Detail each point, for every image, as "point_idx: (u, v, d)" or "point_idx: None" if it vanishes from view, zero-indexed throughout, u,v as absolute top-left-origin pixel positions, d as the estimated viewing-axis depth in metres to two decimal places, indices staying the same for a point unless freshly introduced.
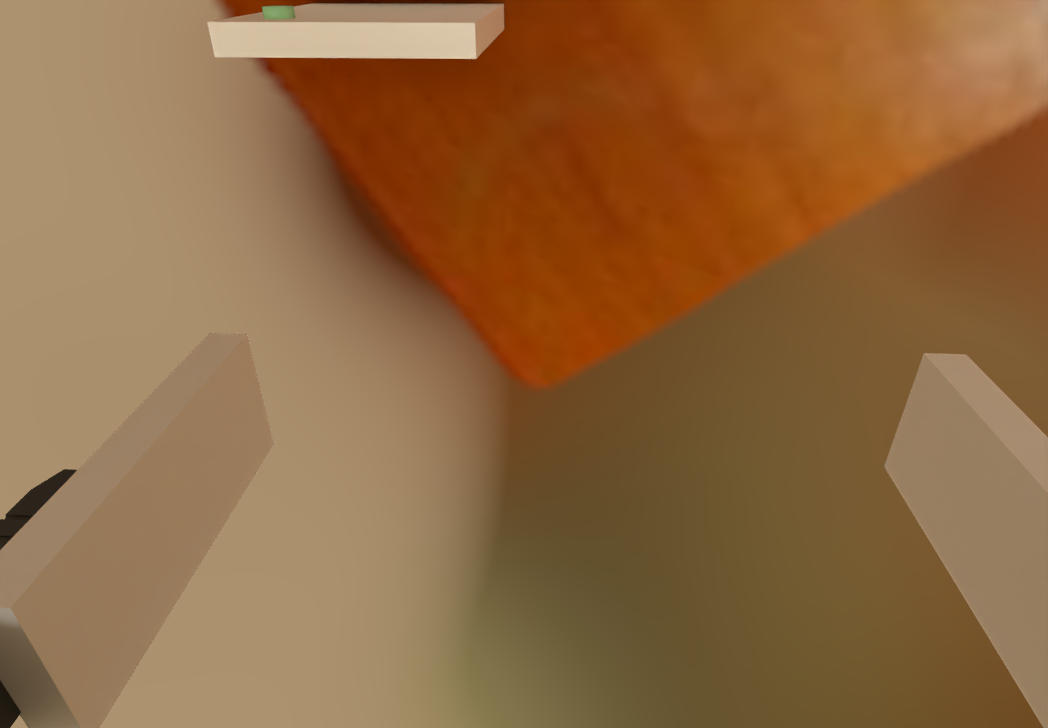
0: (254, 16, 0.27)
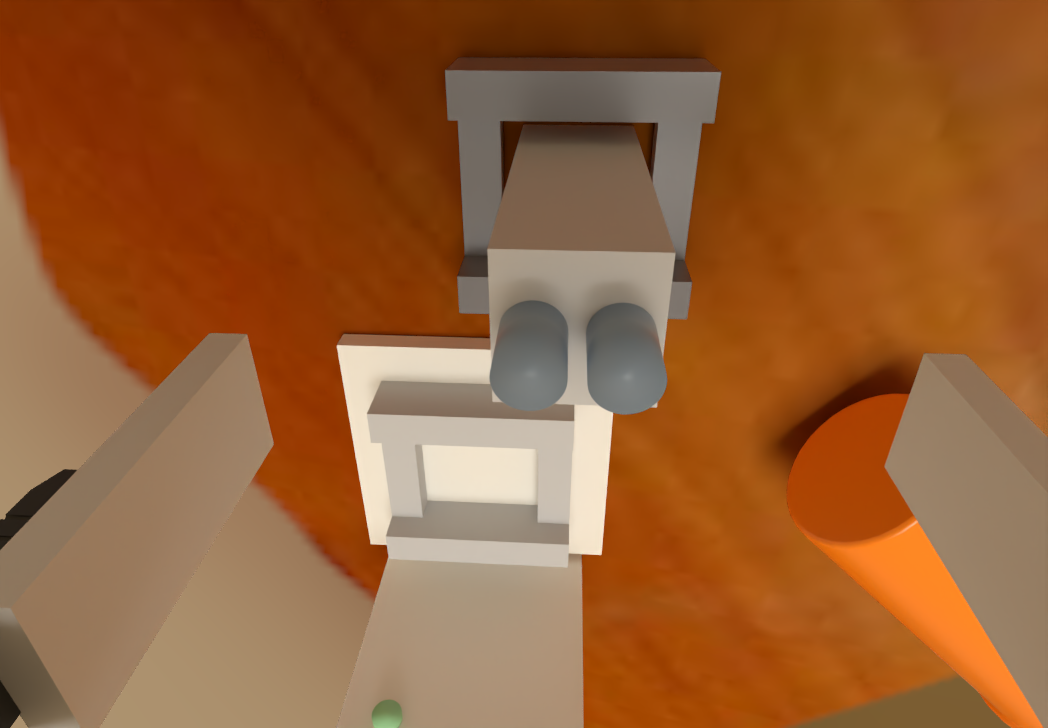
0: (360, 702, 0.28)
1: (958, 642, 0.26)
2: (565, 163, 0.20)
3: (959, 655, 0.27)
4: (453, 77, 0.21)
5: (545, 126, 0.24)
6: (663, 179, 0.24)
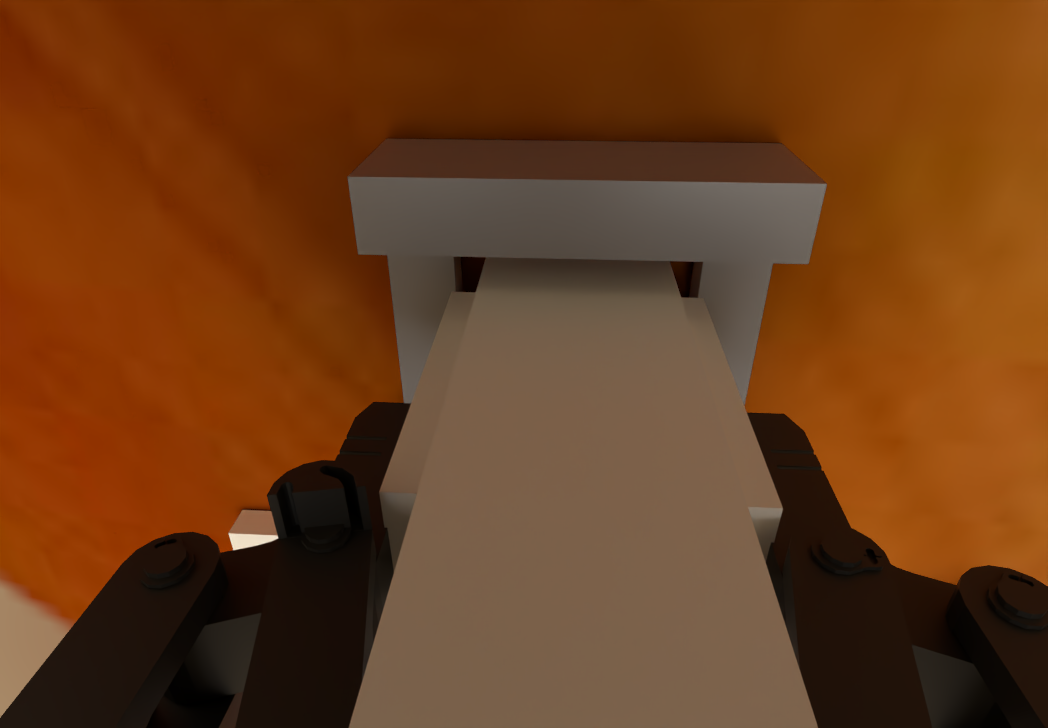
0: None
1: None
2: (555, 350, 0.11)
3: None
4: (362, 188, 0.12)
5: None
6: None
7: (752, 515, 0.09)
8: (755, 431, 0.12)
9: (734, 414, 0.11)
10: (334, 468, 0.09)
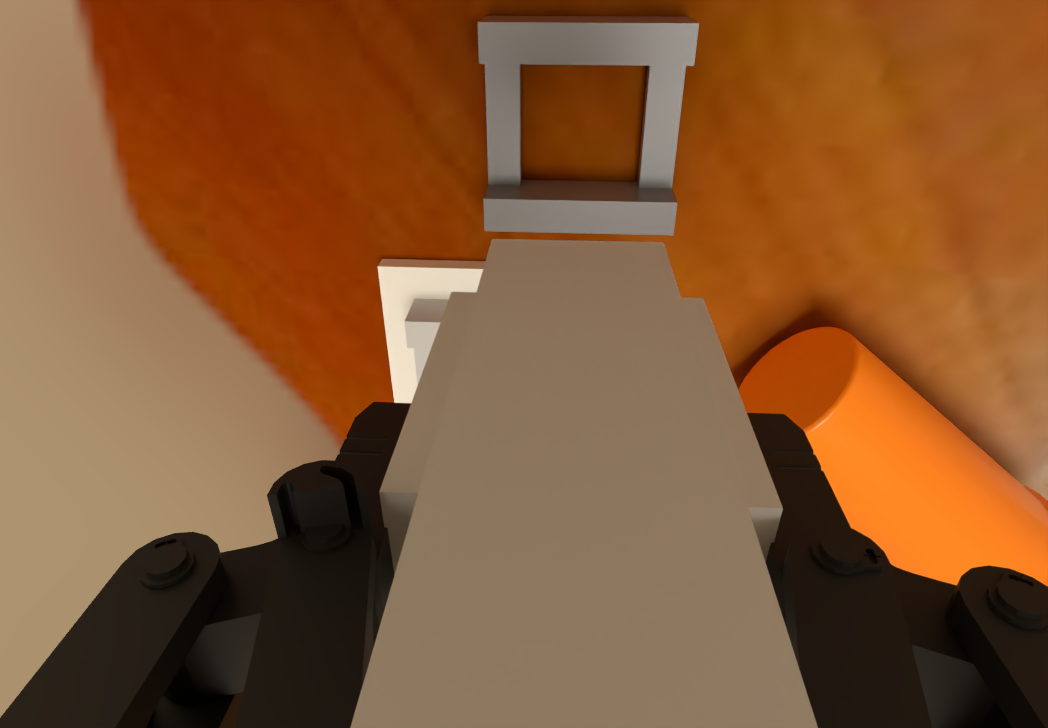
0: None
1: None
2: (555, 351, 0.11)
3: None
4: (484, 28, 0.26)
5: (525, 244, 0.16)
6: (654, 118, 0.30)
7: (752, 515, 0.09)
8: (755, 431, 0.12)
9: (734, 414, 0.11)
10: (334, 468, 0.09)
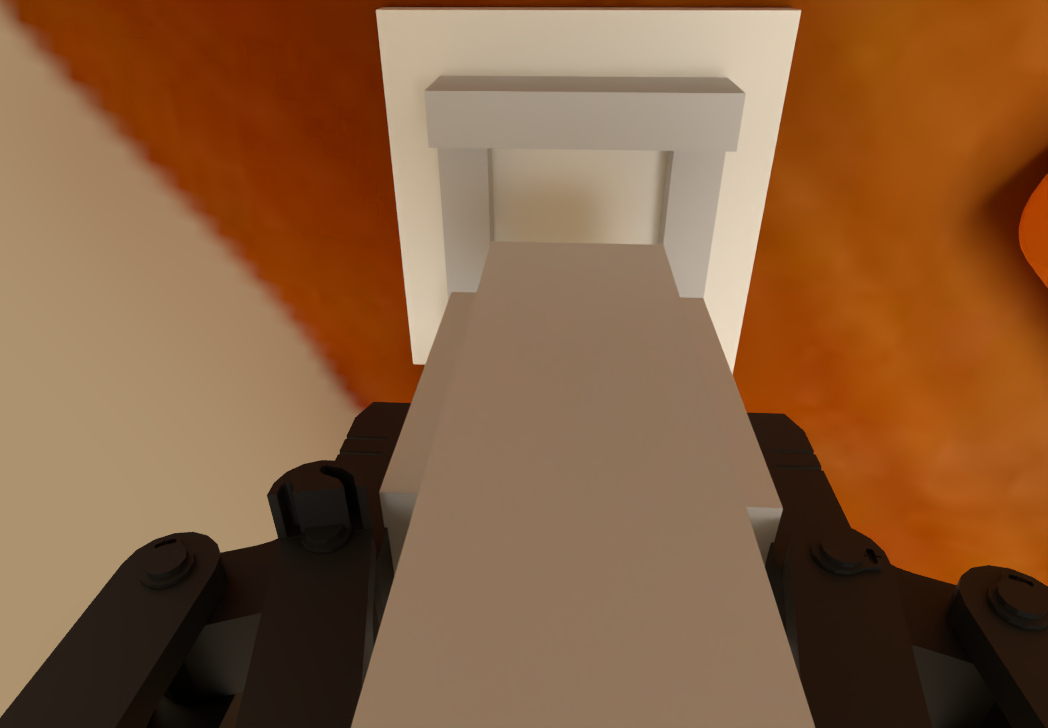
0: None
1: None
2: (555, 354, 0.11)
3: None
4: None
5: (525, 246, 0.16)
6: None
7: (752, 515, 0.09)
8: (755, 431, 0.12)
9: (734, 414, 0.11)
10: (334, 468, 0.09)
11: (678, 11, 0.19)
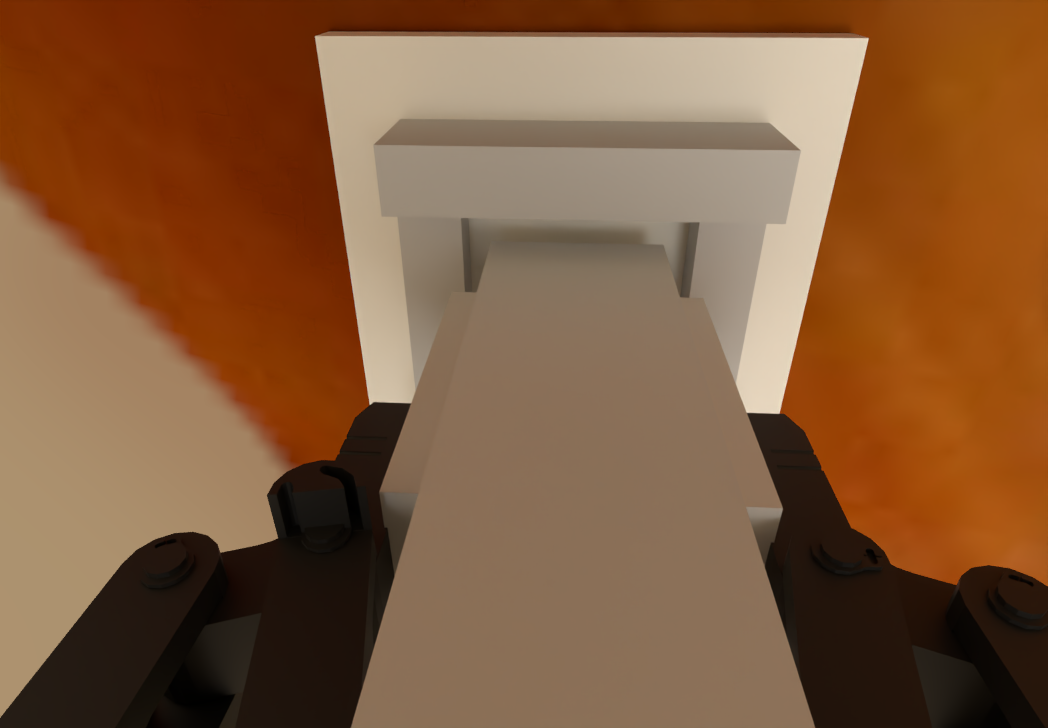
0: None
1: None
2: (555, 354, 0.11)
3: None
4: None
5: (525, 246, 0.16)
6: None
7: (752, 515, 0.09)
8: (755, 431, 0.12)
9: (734, 414, 0.11)
10: (334, 468, 0.09)
11: (707, 39, 0.15)
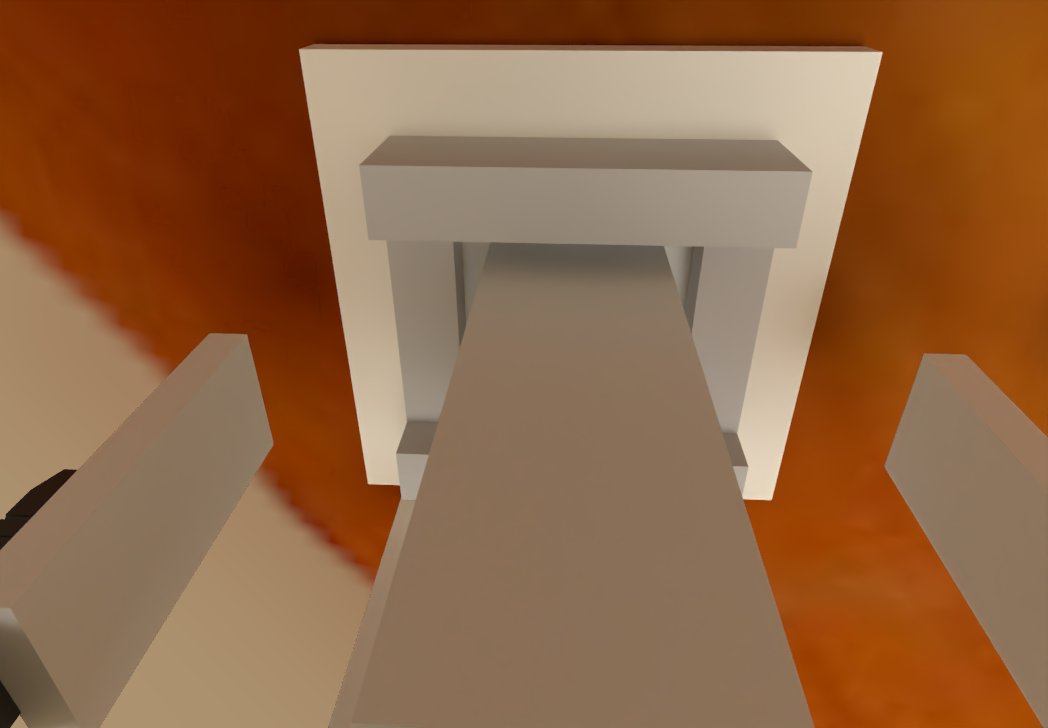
0: None
1: None
2: (554, 344, 0.12)
3: None
4: None
5: None
6: None
7: None
8: None
9: None
10: None
11: (712, 52, 0.14)
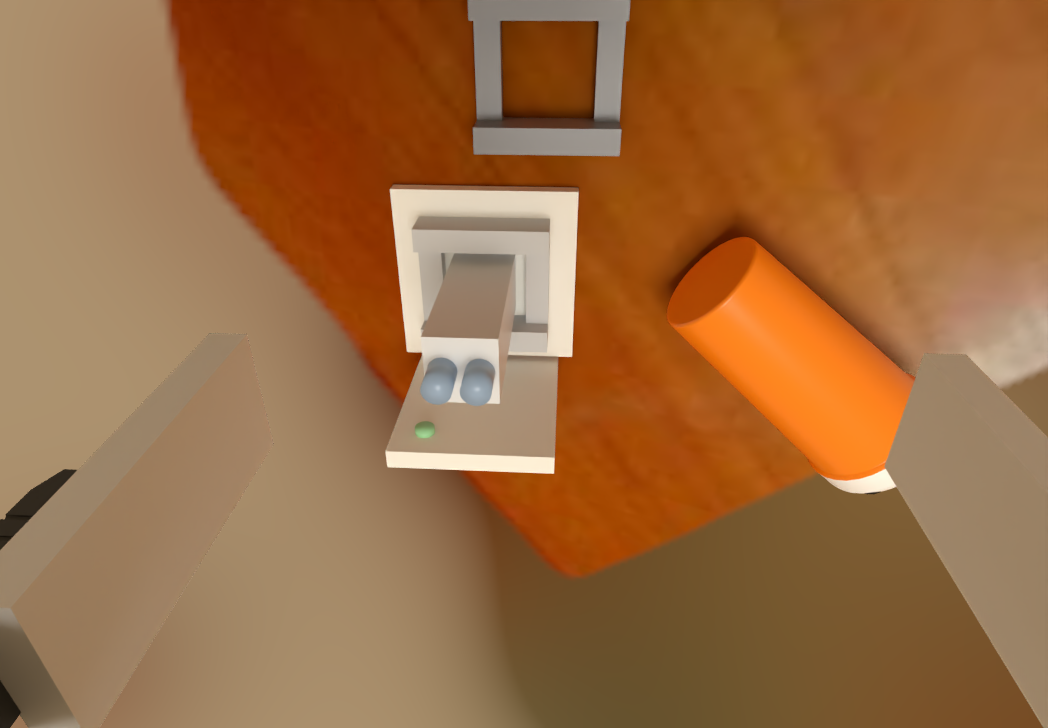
0: (406, 425, 0.42)
1: (748, 395, 0.43)
2: (469, 283, 0.40)
3: (754, 404, 0.44)
4: None
5: None
6: (603, 65, 0.39)
7: None
8: None
9: None
10: None
11: (525, 191, 0.43)
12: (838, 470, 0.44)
